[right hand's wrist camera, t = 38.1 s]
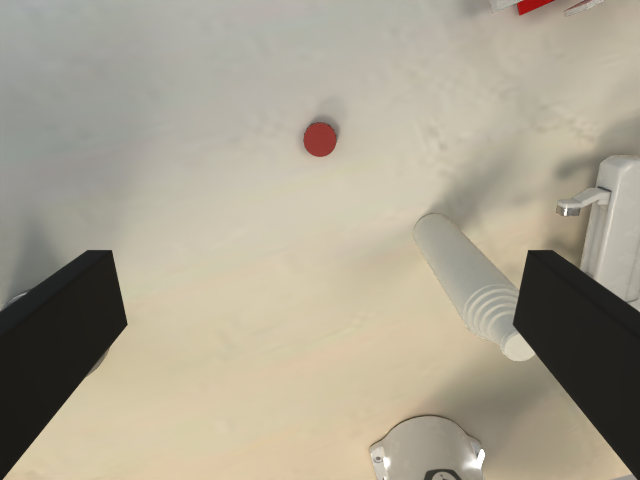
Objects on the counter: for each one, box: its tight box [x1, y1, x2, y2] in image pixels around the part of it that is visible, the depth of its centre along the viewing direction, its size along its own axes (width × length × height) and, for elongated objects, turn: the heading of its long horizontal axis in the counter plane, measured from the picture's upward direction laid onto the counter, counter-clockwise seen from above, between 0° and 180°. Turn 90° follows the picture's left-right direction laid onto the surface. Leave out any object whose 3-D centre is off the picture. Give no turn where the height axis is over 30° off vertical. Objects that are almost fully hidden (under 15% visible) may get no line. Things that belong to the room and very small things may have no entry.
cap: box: [303, 122, 336, 157], centre depth 47 cm, size 4×4×2 cm
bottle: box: [413, 213, 536, 361], centre depth 41 cm, size 6×6×25 cm
